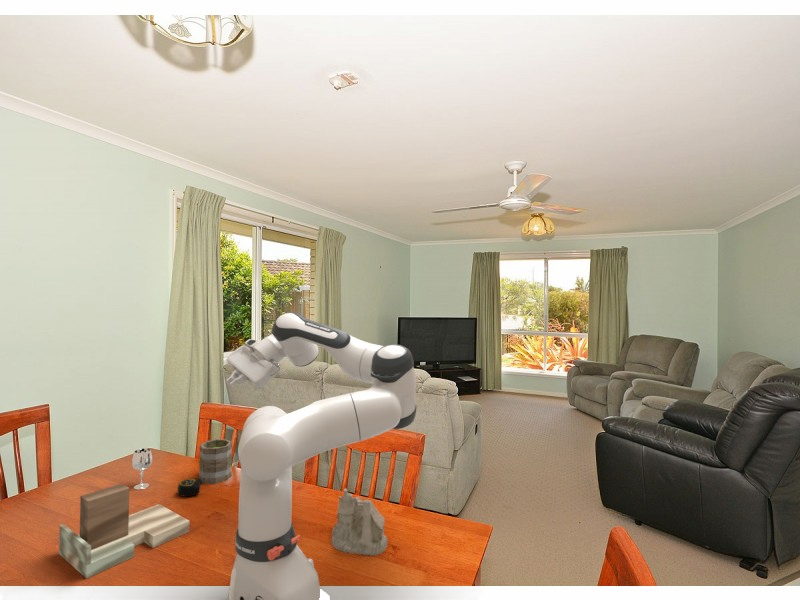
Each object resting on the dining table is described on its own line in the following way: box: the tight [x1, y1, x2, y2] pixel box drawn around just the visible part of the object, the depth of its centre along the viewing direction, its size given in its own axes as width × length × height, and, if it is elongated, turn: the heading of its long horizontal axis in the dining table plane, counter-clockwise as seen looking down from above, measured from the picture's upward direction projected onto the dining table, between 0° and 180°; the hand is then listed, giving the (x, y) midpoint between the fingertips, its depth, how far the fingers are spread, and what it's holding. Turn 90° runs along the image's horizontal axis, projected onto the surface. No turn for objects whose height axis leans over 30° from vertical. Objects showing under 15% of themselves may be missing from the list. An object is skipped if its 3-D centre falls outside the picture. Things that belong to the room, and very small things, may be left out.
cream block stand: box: [58, 503, 190, 580], centre depth 110 cm, size 16×24×7 cm, turn 146°
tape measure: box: [177, 478, 203, 497], centre depth 139 cm, size 7×7×4 cm
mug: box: [198, 438, 233, 485], centre depth 153 cm, size 16×11×12 cm
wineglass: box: [131, 447, 153, 490], centre depth 143 cm, size 6×6×12 cm
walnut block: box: [79, 483, 130, 550], centre depth 106 cm, size 4×9×12 cm, turn 146°
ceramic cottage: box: [331, 488, 388, 556], centre depth 116 cm, size 16×16×15 cm
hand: (229, 384), depth 129 cm, fingers closed
